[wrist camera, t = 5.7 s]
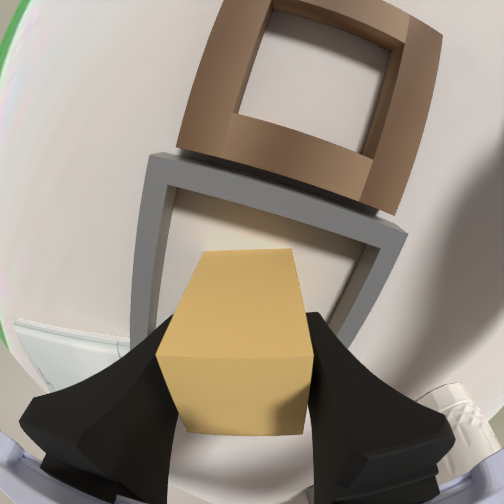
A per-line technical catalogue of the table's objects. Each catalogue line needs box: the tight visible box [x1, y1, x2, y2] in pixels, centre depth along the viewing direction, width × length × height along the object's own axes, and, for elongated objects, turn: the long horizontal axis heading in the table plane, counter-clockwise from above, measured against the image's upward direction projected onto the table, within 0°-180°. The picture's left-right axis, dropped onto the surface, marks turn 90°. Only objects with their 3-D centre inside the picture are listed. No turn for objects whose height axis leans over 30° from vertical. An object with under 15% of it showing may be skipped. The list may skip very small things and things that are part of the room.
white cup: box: [416, 383, 502, 486], centre depth 13 cm, size 8×8×10 cm
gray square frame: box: [130, 152, 408, 351], centre depth 13 cm, size 11×11×2 cm
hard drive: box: [13, 318, 130, 392], centre depth 17 cm, size 2×8×12 cm
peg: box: [156, 248, 314, 436], centre depth 10 cm, size 4×4×7 cm
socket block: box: [176, 0, 443, 216], centre depth 9 cm, size 9×9×2 cm
